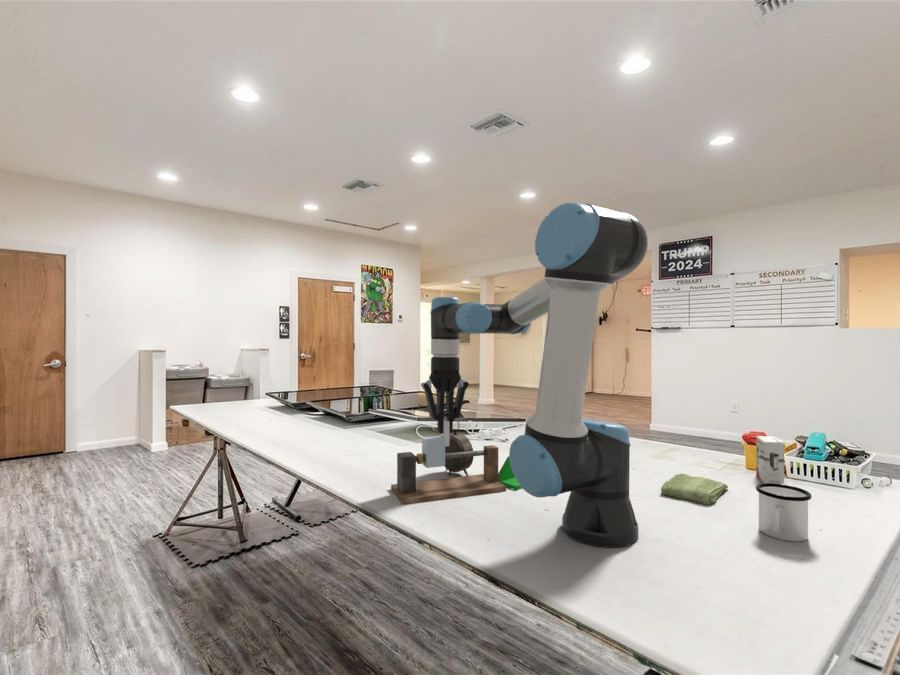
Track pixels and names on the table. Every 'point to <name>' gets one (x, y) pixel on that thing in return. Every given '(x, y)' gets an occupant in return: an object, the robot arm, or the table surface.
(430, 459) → the light blue block
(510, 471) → the bracket
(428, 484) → the wooden slider rail stand
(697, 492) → the washcloth
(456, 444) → the alarm clock
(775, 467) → the ink box
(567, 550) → the table surface
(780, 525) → the mug
